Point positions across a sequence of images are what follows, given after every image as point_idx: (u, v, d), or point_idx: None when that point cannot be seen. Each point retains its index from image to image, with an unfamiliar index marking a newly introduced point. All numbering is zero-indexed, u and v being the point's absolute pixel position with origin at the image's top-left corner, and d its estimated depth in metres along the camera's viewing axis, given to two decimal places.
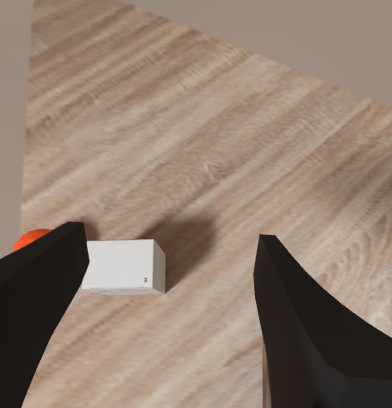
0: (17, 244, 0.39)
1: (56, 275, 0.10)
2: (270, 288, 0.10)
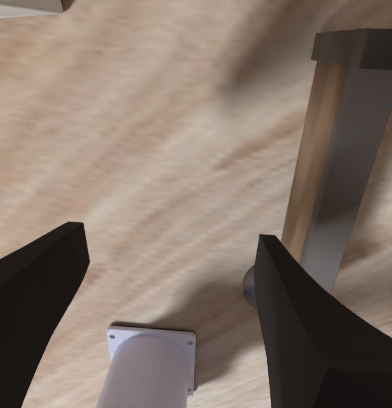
0: None
1: (56, 275, 0.11)
2: (270, 288, 0.10)
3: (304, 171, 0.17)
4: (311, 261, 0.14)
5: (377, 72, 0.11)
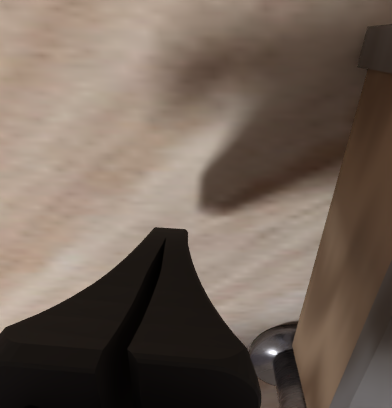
0: None
1: (157, 282, 0.10)
2: None
3: (344, 232, 0.11)
4: (365, 391, 0.09)
5: None
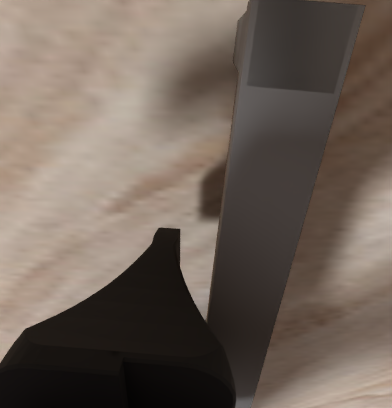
0: None
1: None
2: None
3: None
4: None
5: (286, 95, 0.05)
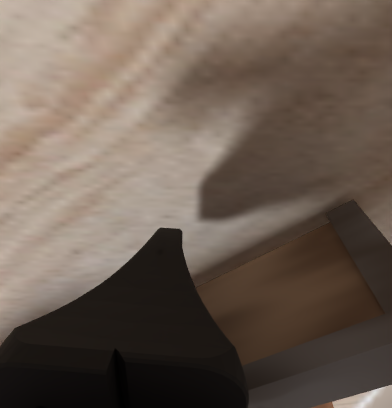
0: None
1: None
2: None
3: (220, 304, 0.13)
4: None
5: None
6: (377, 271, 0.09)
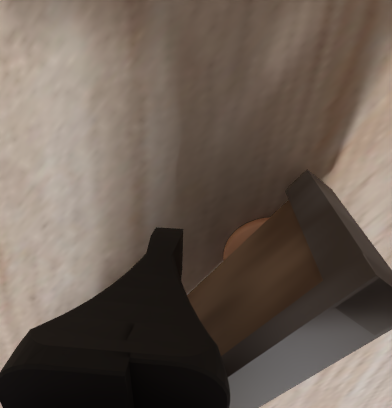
0: None
1: None
2: None
3: (205, 305, 0.13)
4: None
5: (350, 323, 0.07)
6: (320, 238, 0.09)
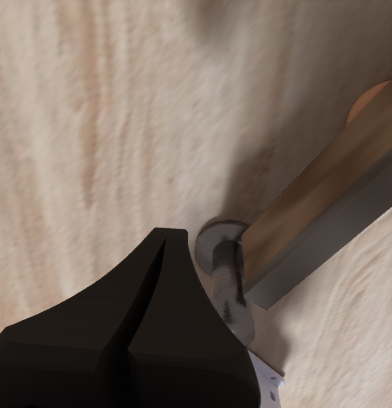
0: None
1: (157, 283, 0.10)
2: None
3: (347, 146, 0.16)
4: (328, 226, 0.14)
5: None
6: None
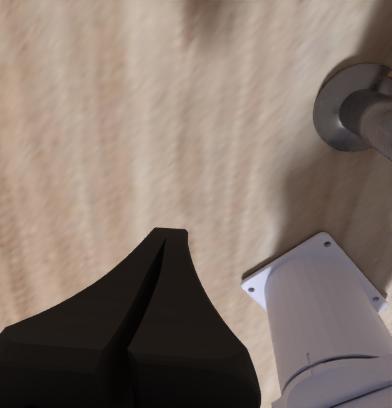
0: None
1: (157, 282, 0.10)
2: None
3: None
4: None
5: None
6: None
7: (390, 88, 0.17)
